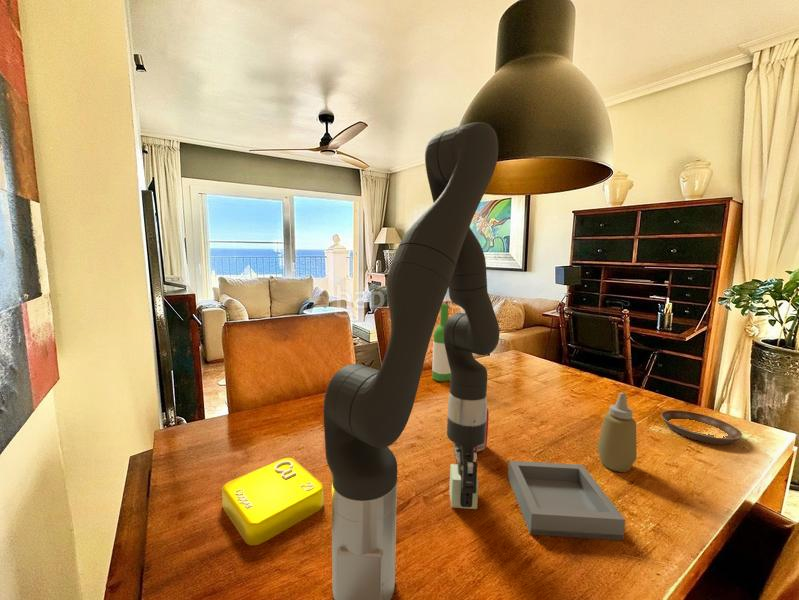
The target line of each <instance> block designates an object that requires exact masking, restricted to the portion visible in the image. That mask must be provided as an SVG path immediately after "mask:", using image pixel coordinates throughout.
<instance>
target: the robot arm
mask: <svg viewBox="0 0 799 600" xmlns="http://www.w3.org/2000/svg"><path fill="white" fill-rule="evenodd" d="M498 157H499V139H498V135H497V133H496V130H495V129H494V128H493V127H492V126H491V124H489V123H486V122H483V121H482V122H480V121H479V122H478V121H477V122H469V123H465V124H463V125H460V126H459V125H458V126H455V127H453V128H450V129H449V128H448V129H446V130H443V131H440V132H438V133H435V134H434V135H432V137H430V139H429V140H428V142H427V144H426V147H425V152H424V163H425V170H426V171H425V172H426V176H427V181H428V184H429V190H430V194H431V197H432V202H433V203H432V204H431V205H430V206H429V207H428V208H427V209H426V210H425V211H424V212H423V213H422V214H421V215H420V216H419V218H418V219H416V221H415V222H414V223H413V224H412V225H411V226H410V227H409V229H407V231H406V232H405V234H403V236H402V239H401V241H400V242H399V245H398V246H397V249H396V252H395V255H394V257H393V260H392V262H391V265H390V267H389V269H388V273H387V278H386V295H387V302H388V303H387V304H388V310H389V316H390V335H389V341H388V344H387V347H386V351H385V353H384V357H383V360H382V362H381V365H380V368H379V370H378V369H376V368H373V367H369V366H367V365H362V364H358V363H351V364H347V365H344V366H342V367H341V368H340V369H338V370H337V371H336V372H335V373H334V375H333V376H332V377H331V379H330V380H329V382H328V385H327V386H326V387H327V388H326V391H325V394H324V399H323V400H324V401H323V428H324V429H323V431H324V448H325V449H324V450H325V458H326V459H325V461H326V463H327V466H328V468H329V470H330V473H331V495H332V496H331V536H332V537H331V558H332V559H331V566H332V567H331V569H332V572H331V576H332V577H331V578H332V581H331V586H332V589H331V591H332V592H331V593H332V596H333V597H332V598H333V600H391V599H392V598H393V596H394V593H395V585H396V583H395V582H396V547H397V546H396V545H397V542H396V541H397V540H396V539H397V501H398V461H397V458H396V456H395V454H394V453H393V451H392V450H391V449H390V448H389V447H390V446H392V444H394V443H395V442H396V441H397V440H398V438H399V437H401V435H402V433H403V431H404V430H405V429H406V426H407V424H408V422H409V419H410V417H411V413H412V410H413V407H414V404H415V400H416V397H417V392H418V388H419V386H420V385H419V384H420V380H421V376H422V373H423V367H424V364H425V360H426V357H427V352H428V348H429V345H430V341H431V338H432V335H433V333H434V330H435V326H436V322H437V319H438V317H439V313H440V312H441V305H442V304H443V302H444V300H445V297H446V295H447V293H448V297H449V300H450V301H451V302H452V303H453V304H455V305H457V306H459V307H460V308H461V309H463V310H464V312H455V313H453V314H452V315H450V316H448V320H447V322H446V324H445V327H444V344H445V349H446V354H447V359H448V363H449V367H450V371H451V377H450V380H449V381H450V382H449V396H448V402H447V418H446V419H447V421H446V422H447V424H446V435H447V438H448V439H449V441H451V442H452V443H454V444H453V447H454V451H453V452H454V459H455V462H456V463H455V464H457V471H458V475H460V487H461V493H460V505H461V506H462V507H471V506H472V498H473V493H476V481H477V476H478V467H479V466H478V462H477V459H478V454H477V453H478V452H477V451H476V450H474V449H475V447H476V446H478V445H481V444H482V443H483V442H484V441H485V436H486V418H487V408H488V401H487V400H488V399H487V392H488V389H487V388H488V370H487V368H486V366H485V365H483V364H482V363H481V362H479V361H478V360H477V359H476V358H474V355H473V354H475V355H477V356H487V355H490V354H492V353H493V352H494V351H495V349H496V348H497V346H498V343H499V341H500V326H499V325H500V324H499V322H498V319H497V315H496V313H495V309H494V308H493V304H492V299H491V298H490V295H489V292H488V278H487V276H488V275H487V263H486V256H485V252H484V250H483V248H482V247H483V246H482V245H481V244H480V242H479V240H478V238H477V237H476V235H475V234H474V232H473V229H472V228H471V227H470V226H471V224H472V221H473V219H474V217H475V214H476V212H477V209H478V207H479V205H480V203H481V201H482V200H483V197H484V196H485V193H486V191H487V189H488V186H489V185H490V183H491V181H492V178H493V177H494V176H493V175H494V173H495V171H496V167H497V163H498ZM461 467H462V468H463V471H462V470H461ZM467 482H471V483H467Z"/></svg>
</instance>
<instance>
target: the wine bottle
mask: <svg viewBox="0 0 799 600" xmlns="http://www.w3.org/2000/svg"><path fill="white" fill-rule="evenodd" d="M439 317H440V319H439V320H440V321H439V324H438V326H436V328H434V330H433V342H432V343H433V344H432V346H433V347H432V364H431V365H432V366H431V367H432V369H431V371H432V373H431V376H432V379H433V380H434V381H437V382H440V383H441V382H448V381H450V377H451V371H450V367H449V363H448V359H447V354H446V349H445V344H444V327H445V324H446V322H447V320H448V319H449V304H446V303H444V304H443V303H442V305H441V308H440V316H439Z"/></svg>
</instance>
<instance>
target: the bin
mask: <svg viewBox="0 0 799 600" xmlns="http://www.w3.org/2000/svg"><path fill="white" fill-rule="evenodd" d="M507 478H508V482H509V484H510V486H511V490H512V491H513V493H514V496H515V498H516V499H515V500H516V502H517V504H518V507H519V509H520V512H521V514H522V517H523V519H524V522H525V525H526V528H527V530H528V532H529V534H530V535H535V536H550V537H551V536H552V537H554V536H555V537H565V538H566V537H570V538H582V539H596V540H597V539H598V540H613V541H624V536H625V535H624V533H625V527H626V518H625V517H624V516H623V514H622V513H621V512H620V511H619V509H618V508H617V507H616V506H615V504H614V503H613V502H612V500H611V499H610V498H609V497H608V495H607V494H606V493H605V491H604V490H603V489H602V488H601V486H600V485H599V483H598V482H597V481H596V480H595V479H594V478H593V476H592V474H591V473H590V472H589V470H588V469H587V468H586V467H585V466H584V464H579V463H577V464H575V463H574V464H573V463H558V462H557V463H556V462H540V461H519V460H508V470H507Z"/></svg>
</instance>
